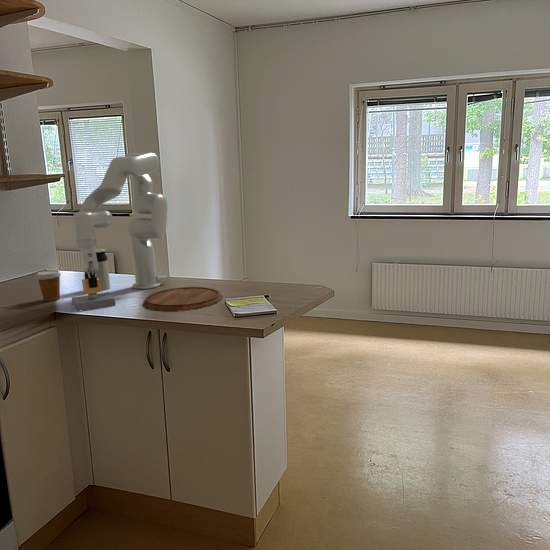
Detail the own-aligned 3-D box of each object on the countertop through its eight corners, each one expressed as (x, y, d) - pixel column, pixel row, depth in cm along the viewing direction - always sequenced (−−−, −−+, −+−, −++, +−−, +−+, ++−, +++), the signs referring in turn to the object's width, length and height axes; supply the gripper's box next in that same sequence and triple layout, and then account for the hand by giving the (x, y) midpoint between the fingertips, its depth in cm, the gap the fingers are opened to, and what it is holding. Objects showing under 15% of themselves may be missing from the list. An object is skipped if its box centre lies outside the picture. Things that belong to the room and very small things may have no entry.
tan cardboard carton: (98, 289, 221) (97, 277, 220) (101, 292, 216) (99, 279, 215) (83, 291, 218) (81, 279, 217) (85, 294, 213) (84, 281, 212)
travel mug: (105, 290, 243) (101, 251, 239) (89, 290, 244) (84, 251, 240) (113, 286, 250) (109, 248, 247) (97, 286, 252) (93, 248, 248)
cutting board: (233, 292, 231) (233, 287, 230) (204, 313, 201) (203, 307, 200) (166, 291, 239) (165, 285, 239) (128, 310, 209) (127, 304, 209)
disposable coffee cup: (42, 303, 224) (38, 275, 222) (37, 299, 232) (34, 272, 229) (65, 299, 229) (62, 272, 227) (60, 295, 237) (57, 269, 234)
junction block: (109, 299, 227) (107, 276, 225) (115, 305, 216) (112, 281, 214) (72, 304, 220) (69, 281, 218) (76, 311, 210) (73, 286, 208)
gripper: (100, 244, 207) (104, 288, 211) (92, 239, 222) (97, 280, 226) (79, 246, 204) (85, 290, 207) (73, 241, 219) (78, 282, 223)
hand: (91, 285), depth 217 cm, fingers open, 9 cm apart
